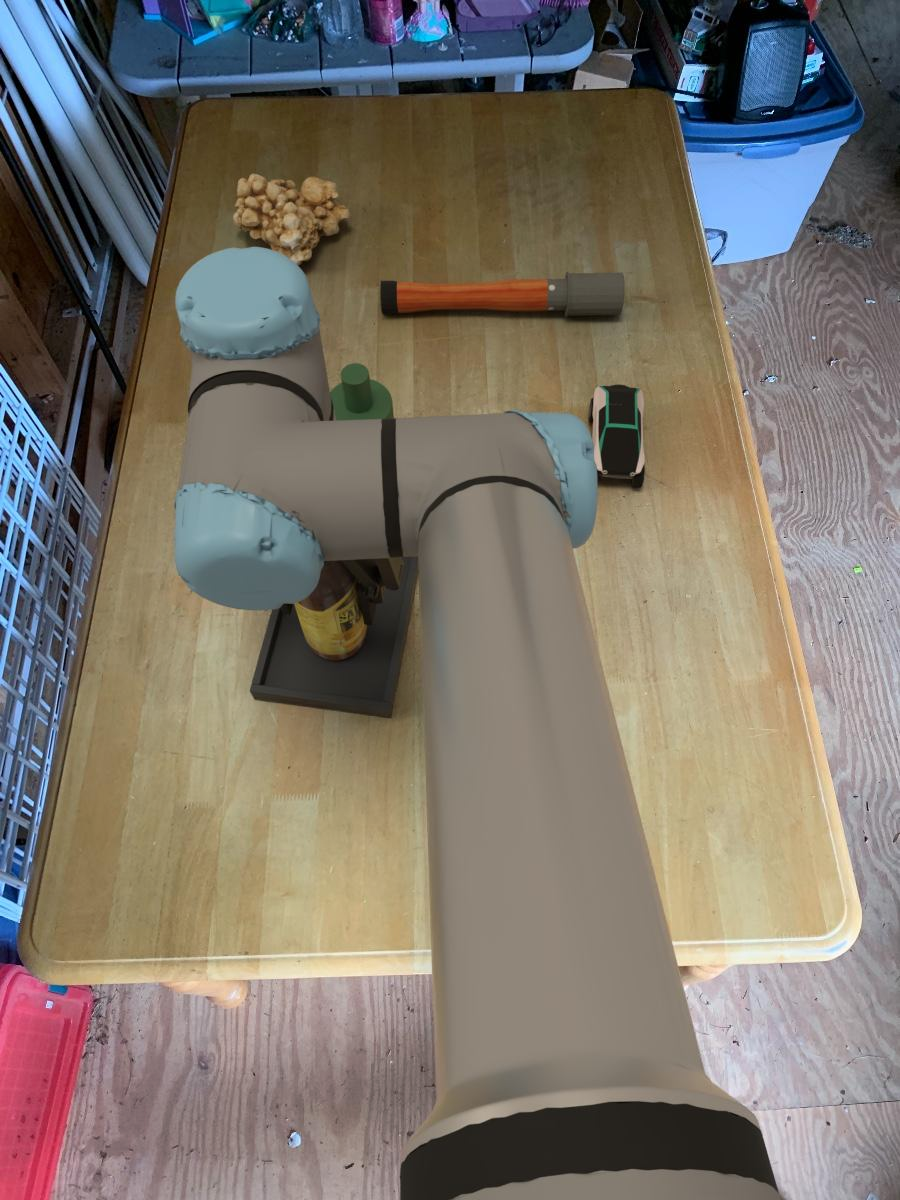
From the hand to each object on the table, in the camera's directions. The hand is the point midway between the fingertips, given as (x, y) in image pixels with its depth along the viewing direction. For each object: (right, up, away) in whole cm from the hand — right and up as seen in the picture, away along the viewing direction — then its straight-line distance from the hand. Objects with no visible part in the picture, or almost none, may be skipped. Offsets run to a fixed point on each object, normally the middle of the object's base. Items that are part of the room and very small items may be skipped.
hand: (330, 606), depth 79 cm
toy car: (+30, +18, +17) cm, 39 cm away
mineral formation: (-11, +50, +34) cm, 61 cm away
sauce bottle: (0, -3, +5) cm, 6 cm away
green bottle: (+3, +13, +14) cm, 19 cm away
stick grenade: (+18, +37, +27) cm, 50 cm away
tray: (+1, +3, +9) cm, 10 cm away
